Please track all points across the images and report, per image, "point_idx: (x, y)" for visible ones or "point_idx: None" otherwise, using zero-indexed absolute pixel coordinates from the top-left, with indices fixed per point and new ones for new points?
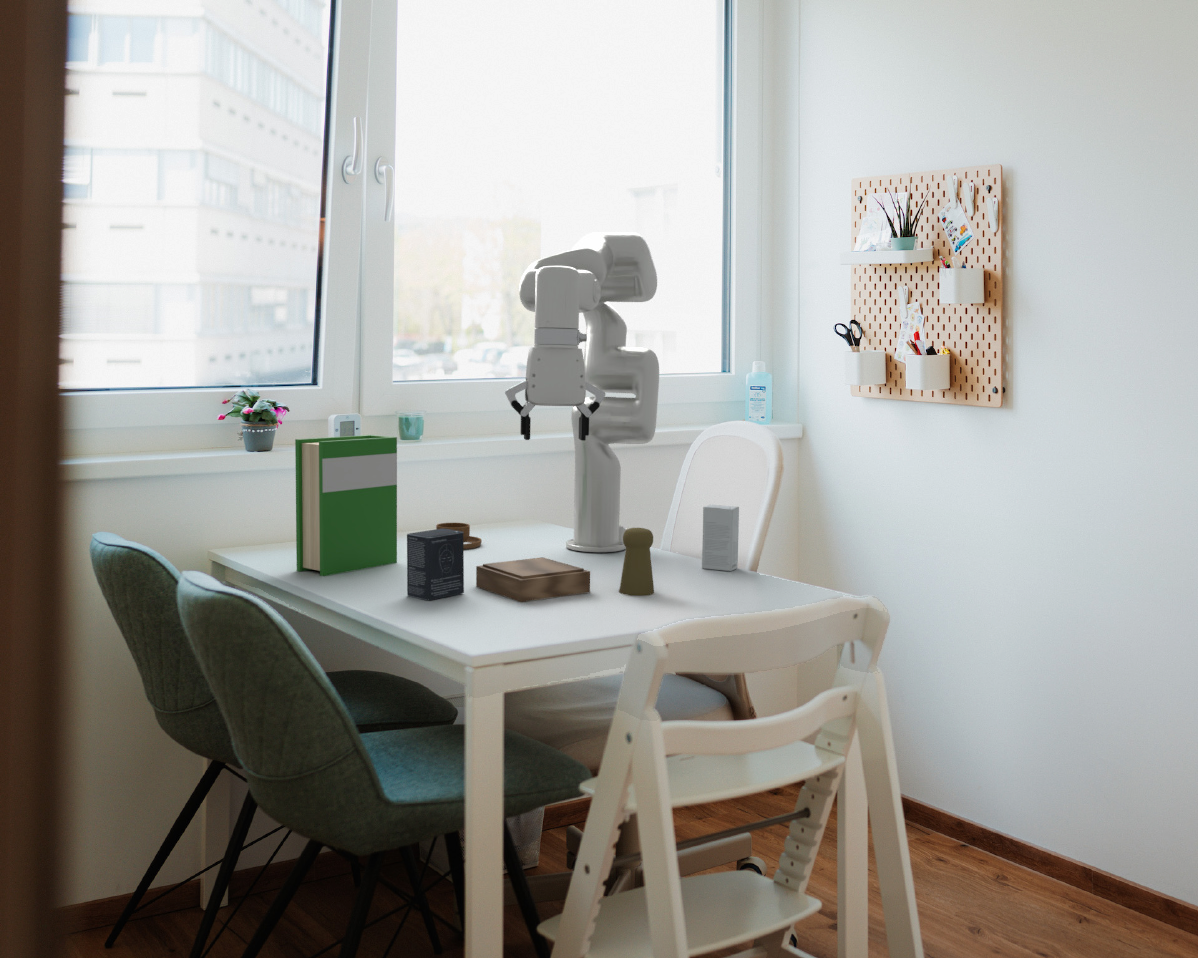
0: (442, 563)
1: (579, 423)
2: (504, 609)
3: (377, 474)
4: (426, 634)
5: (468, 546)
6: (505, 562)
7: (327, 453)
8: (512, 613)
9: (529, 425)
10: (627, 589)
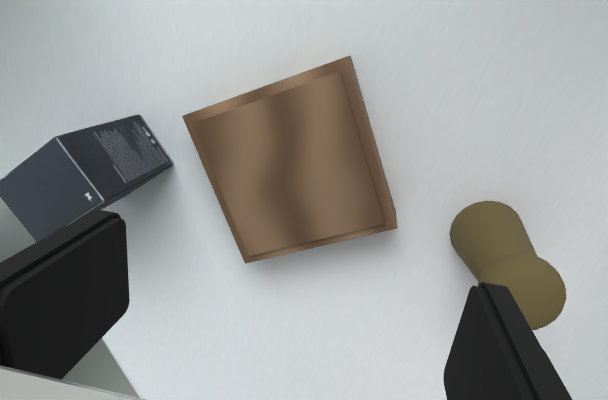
0: (102, 207)
1: (496, 391)
2: (224, 279)
3: None
4: (120, 357)
5: None
6: (241, 116)
7: None
8: (231, 303)
9: (65, 367)
10: (457, 252)
